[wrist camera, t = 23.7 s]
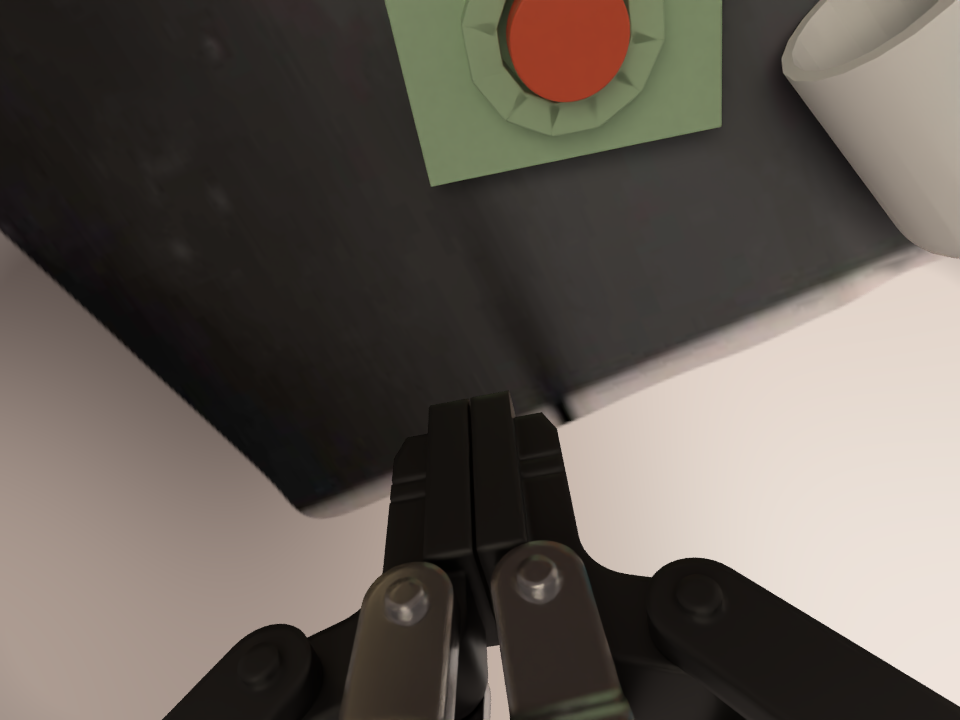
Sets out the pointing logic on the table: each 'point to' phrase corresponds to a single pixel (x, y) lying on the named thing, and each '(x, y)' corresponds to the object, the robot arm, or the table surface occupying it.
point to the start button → (567, 45)
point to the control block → (533, 119)
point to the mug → (890, 104)
